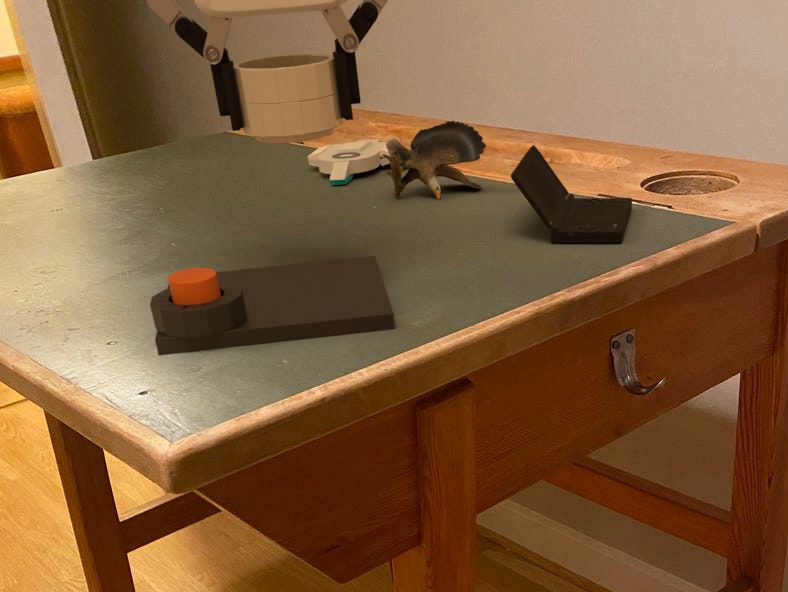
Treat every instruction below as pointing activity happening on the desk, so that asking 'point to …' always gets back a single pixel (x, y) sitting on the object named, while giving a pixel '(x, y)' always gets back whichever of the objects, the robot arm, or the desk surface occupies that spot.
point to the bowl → (288, 97)
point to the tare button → (194, 286)
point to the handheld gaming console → (569, 205)
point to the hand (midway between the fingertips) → (292, 119)
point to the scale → (277, 306)
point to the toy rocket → (349, 159)
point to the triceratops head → (435, 156)
